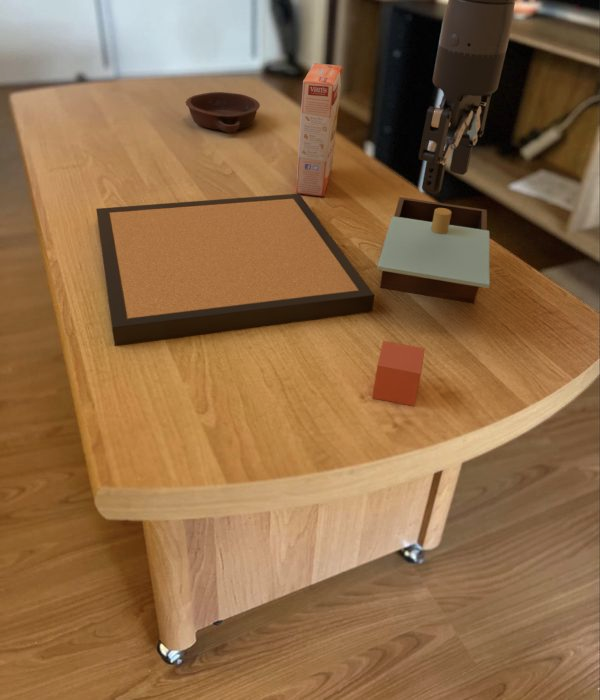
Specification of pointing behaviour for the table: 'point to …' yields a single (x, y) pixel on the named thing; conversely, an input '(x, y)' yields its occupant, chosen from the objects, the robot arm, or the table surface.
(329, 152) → the cracker box
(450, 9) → the robot arm
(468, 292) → the case
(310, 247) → the cork board
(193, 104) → the dish
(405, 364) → the block
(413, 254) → the glass top
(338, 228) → the table surface
